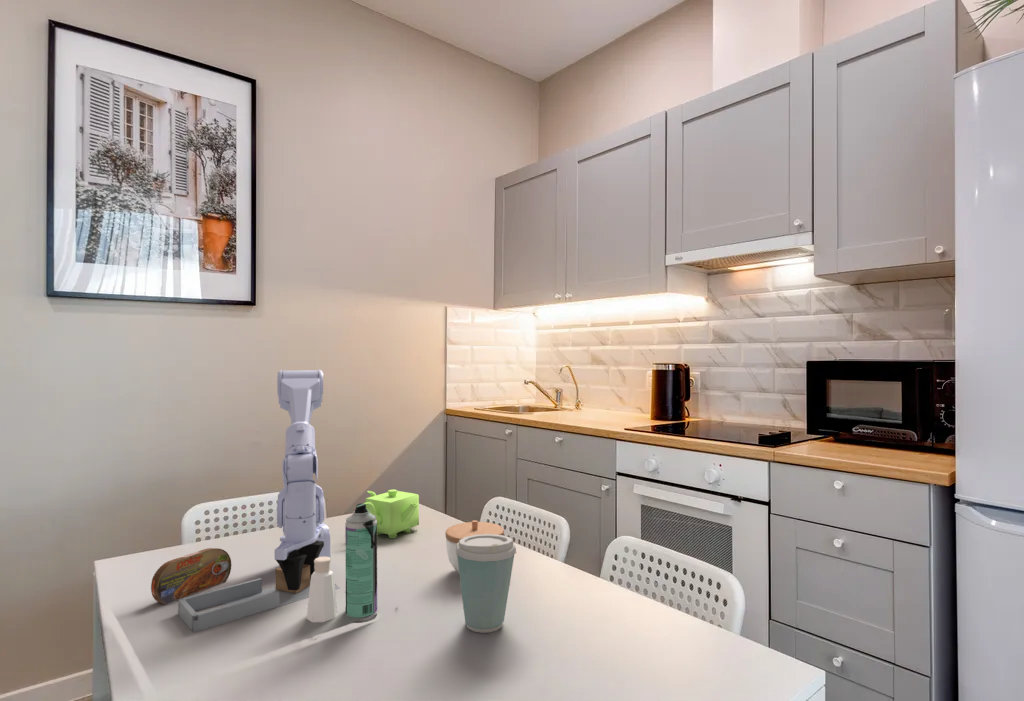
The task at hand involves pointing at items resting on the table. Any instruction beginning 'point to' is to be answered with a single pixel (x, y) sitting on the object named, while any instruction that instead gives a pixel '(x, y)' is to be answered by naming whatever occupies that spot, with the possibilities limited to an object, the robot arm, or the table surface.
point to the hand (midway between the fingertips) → (300, 584)
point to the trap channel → (234, 603)
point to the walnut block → (281, 581)
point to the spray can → (361, 564)
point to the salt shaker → (322, 592)
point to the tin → (190, 574)
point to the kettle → (394, 511)
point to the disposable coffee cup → (485, 579)
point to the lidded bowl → (466, 530)
